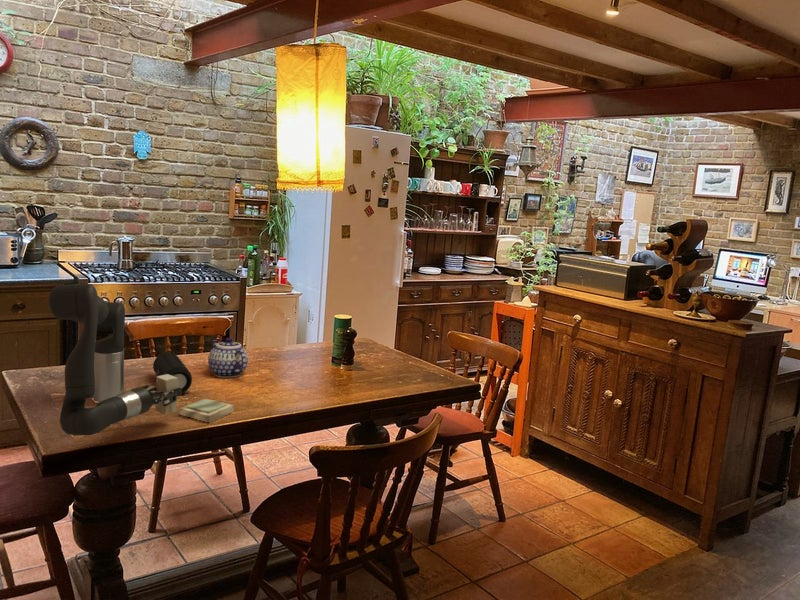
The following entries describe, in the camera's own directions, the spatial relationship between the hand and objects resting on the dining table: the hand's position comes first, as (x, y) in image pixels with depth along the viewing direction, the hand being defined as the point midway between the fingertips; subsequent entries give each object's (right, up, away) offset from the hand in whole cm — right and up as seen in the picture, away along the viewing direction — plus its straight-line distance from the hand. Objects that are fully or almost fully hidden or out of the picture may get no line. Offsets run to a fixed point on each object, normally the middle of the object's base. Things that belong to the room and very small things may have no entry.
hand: (172, 388), depth 199 cm
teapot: (+3, -2, +54) cm, 54 cm away
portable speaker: (-13, -4, +36) cm, 38 cm away
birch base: (+7, -10, +10) cm, 16 cm away
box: (-2, -7, -1) cm, 7 cm away
